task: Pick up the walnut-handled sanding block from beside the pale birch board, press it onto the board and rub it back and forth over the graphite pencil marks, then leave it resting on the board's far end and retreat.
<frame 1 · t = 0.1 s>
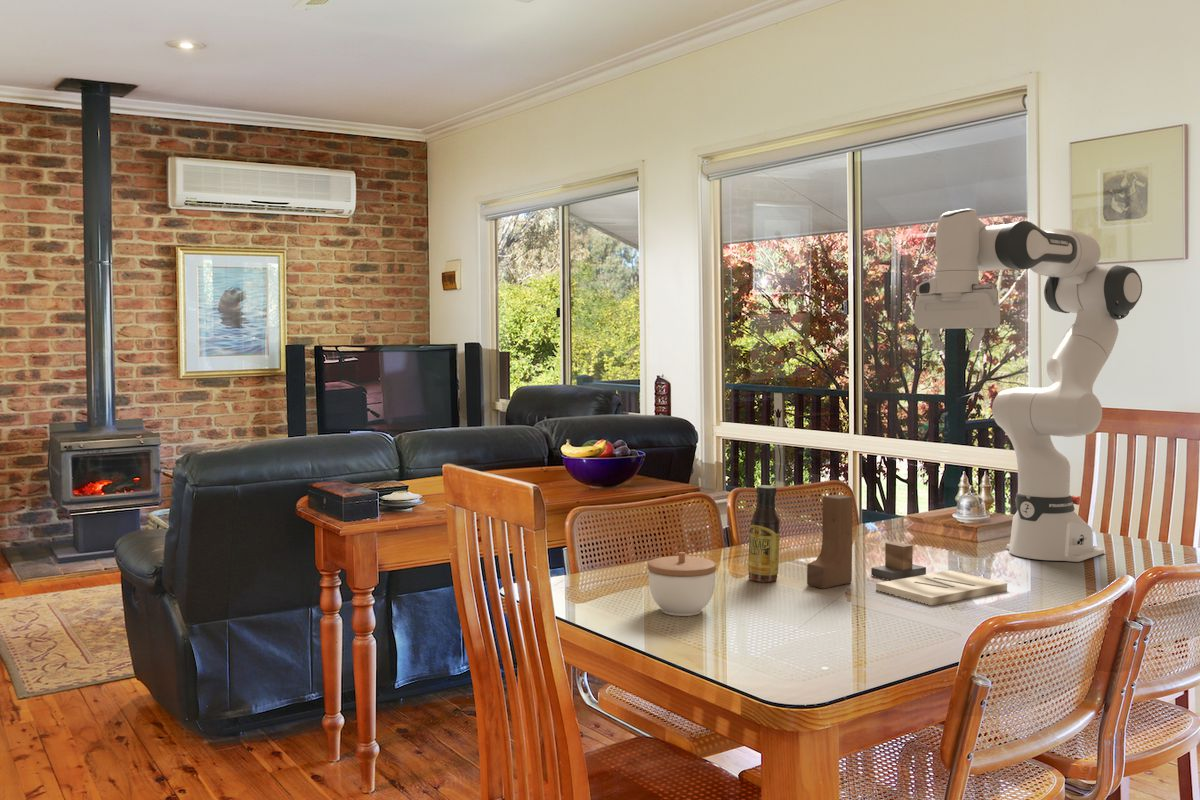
hand: (955, 350, 224), 48 cm above the table, fingers open, 8 cm apart
birch board: (941, 590, 209), on the table
wooden block: (829, 585, 215), on the table
sanding block: (898, 576, 223), on the table
sauce bottle: (763, 581, 219), on the table
lidded bowl: (681, 612, 194), on the table
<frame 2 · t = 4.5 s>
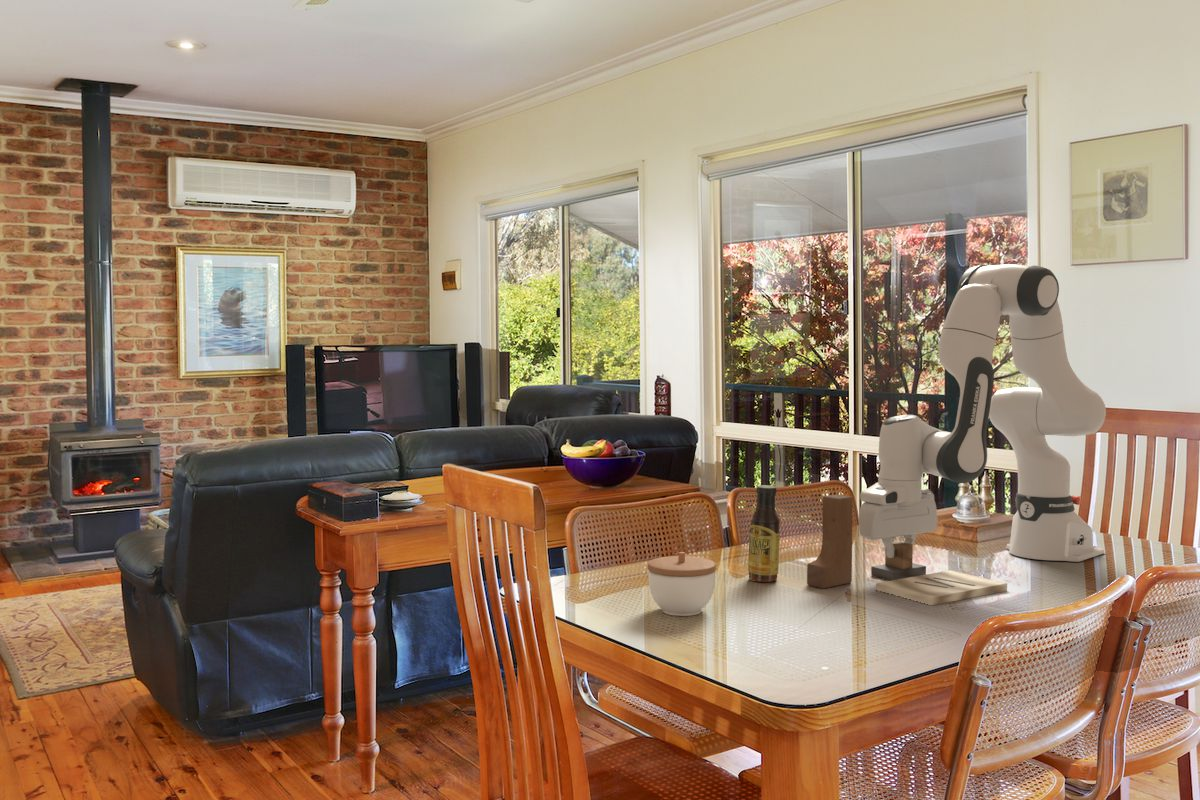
hand: (898, 556, 223), 4 cm above the table, fingers closed on sanding block, 3 cm apart
sanding block: (898, 575, 223), on the table, touching gripper
everything else where it was.
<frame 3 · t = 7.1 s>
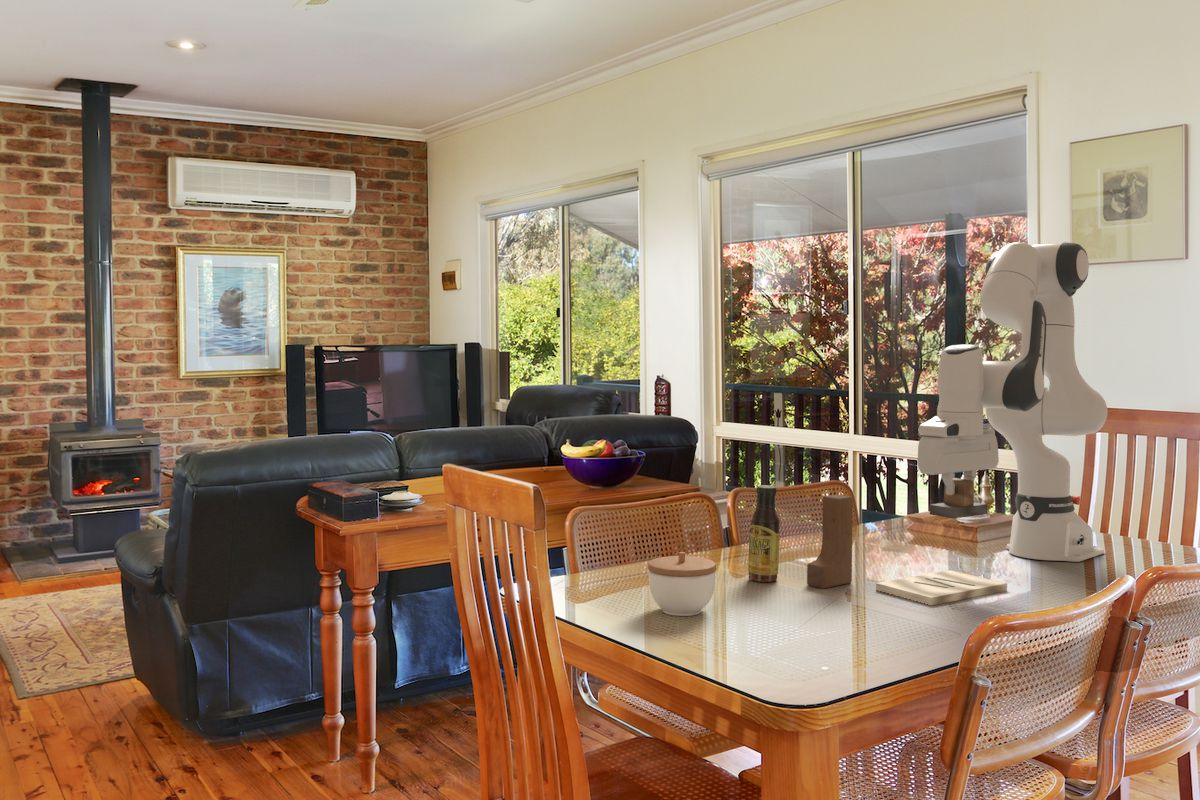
hand: (958, 493, 211), 19 cm above the table, fingers closed on sanding block, 3 cm apart
sanding block: (958, 514, 211), point 15 cm above the table, touching gripper
everything else where it was.
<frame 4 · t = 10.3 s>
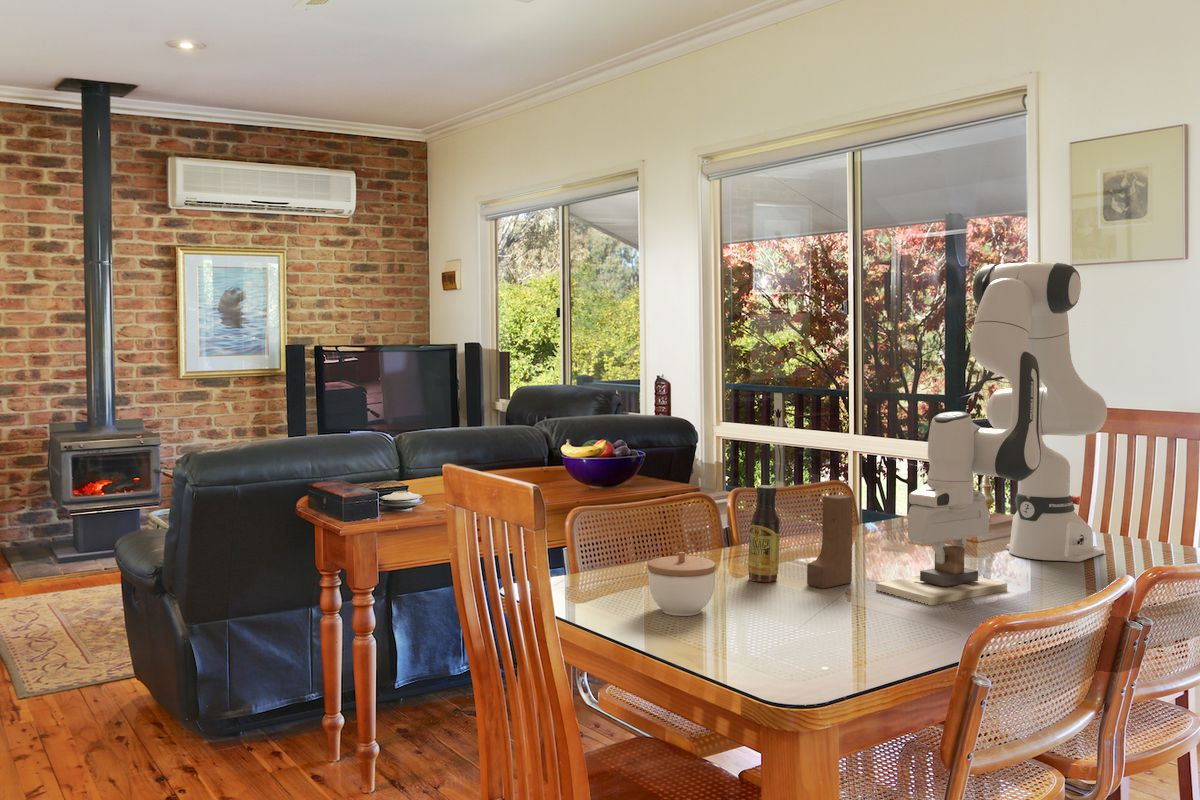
hand: (948, 561, 210), 6 cm above the table, fingers closed on sanding block, 3 cm apart
sanding block: (949, 580, 210), point 2 cm above the table, touching gripper
everything else where it was.
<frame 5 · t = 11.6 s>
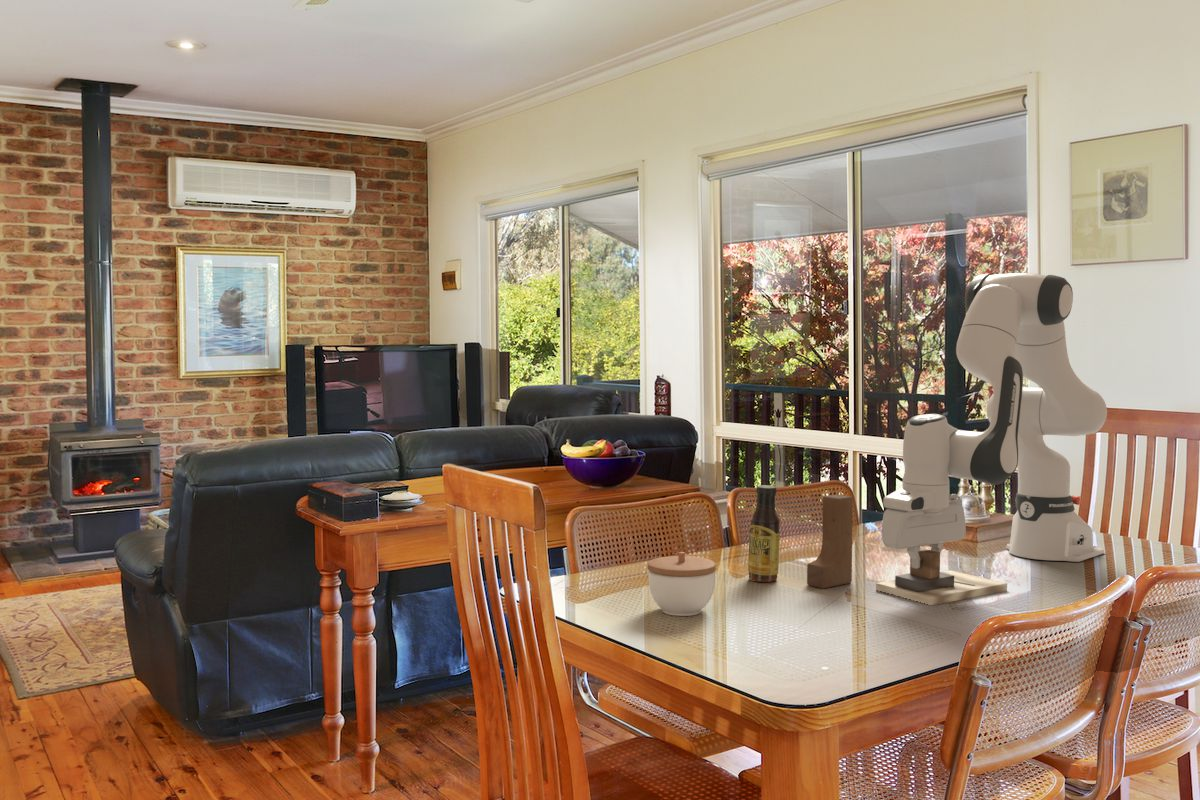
hand: (924, 566, 206), 5 cm above the table, fingers closed on sanding block, 3 cm apart
sanding block: (924, 585, 207), point 2 cm above the table, touching gripper
everything else where it was.
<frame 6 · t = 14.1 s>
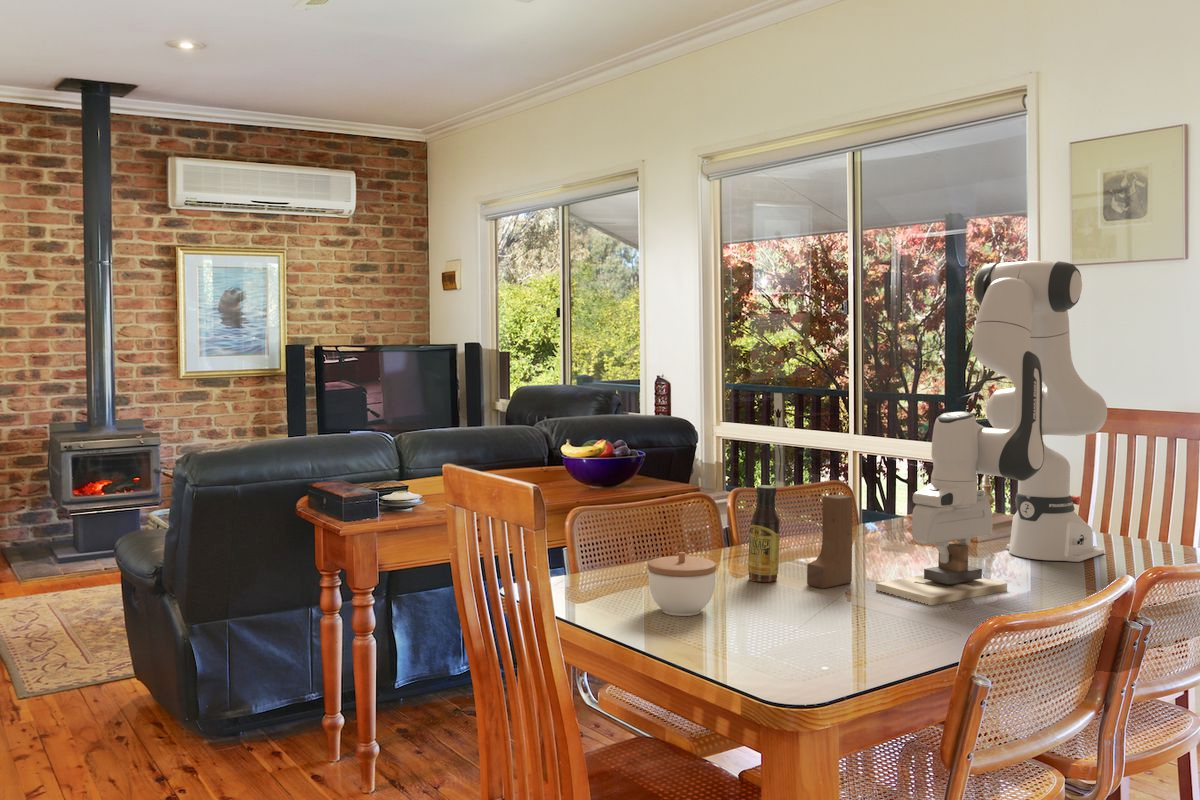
hand: (952, 561, 210), 6 cm above the table, fingers closed on sanding block, 3 cm apart
sanding block: (952, 578, 211), point 2 cm above the table, touching gripper
everything else where it was.
when the fingers open (6 cm above the table, at t = 16.2 s): sanding block stays where it is, resting on birch board.
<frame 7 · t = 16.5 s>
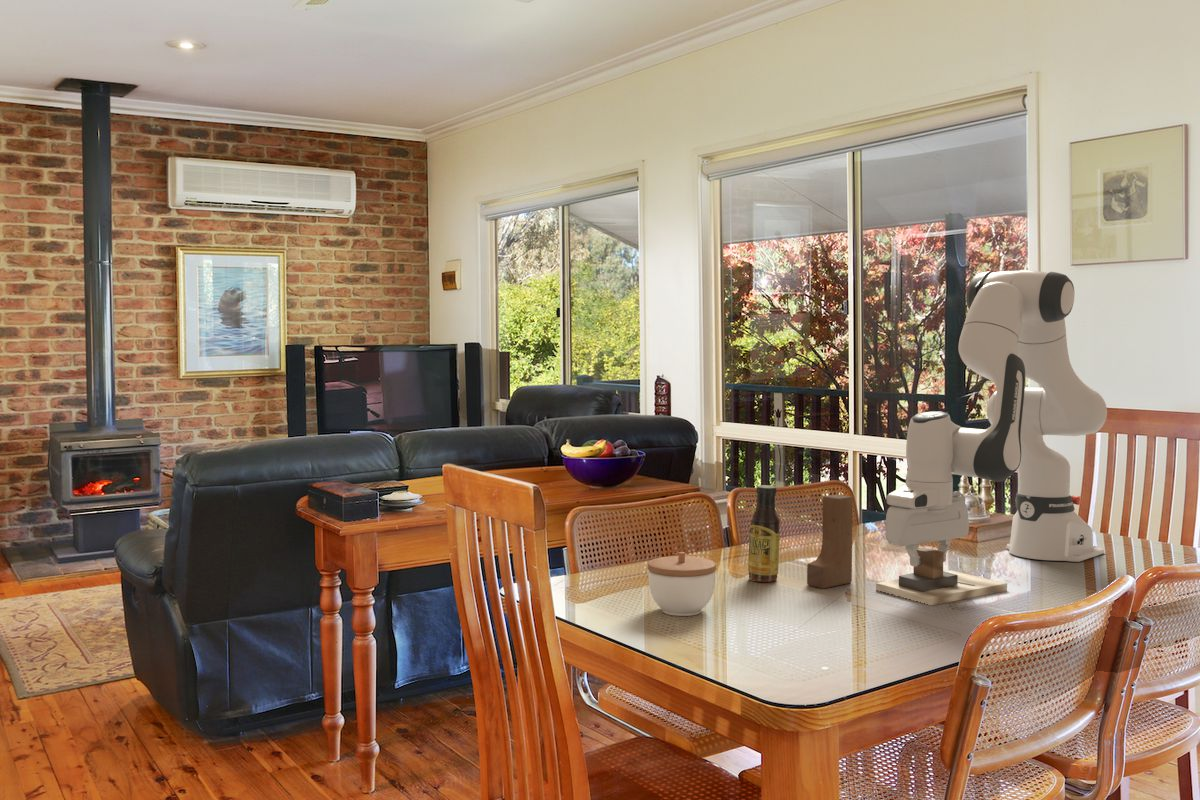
hand: (927, 563, 207), 6 cm above the table, fingers open, 5 cm apart
sanding block: (928, 585, 207), point 2 cm above the table, touching birch board
everything else where it was.
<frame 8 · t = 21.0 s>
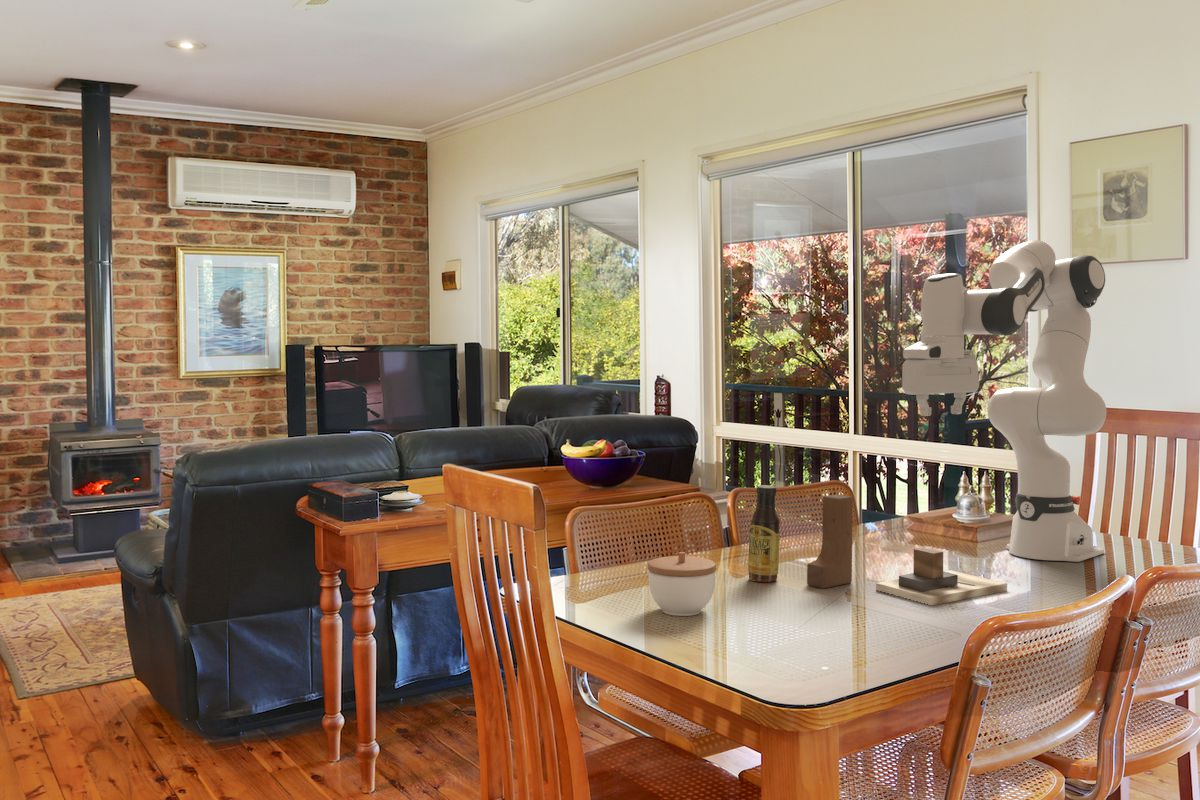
hand: (941, 414, 223), 34 cm above the table, fingers open, 8 cm apart
nothing on the table moved.
at the end: sanding block inside the target area on the birch board (0.3 cm from its centre), point 1.6 cm above the birch board's base; sanding block tilted 1°; the gripper is holding nothing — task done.
